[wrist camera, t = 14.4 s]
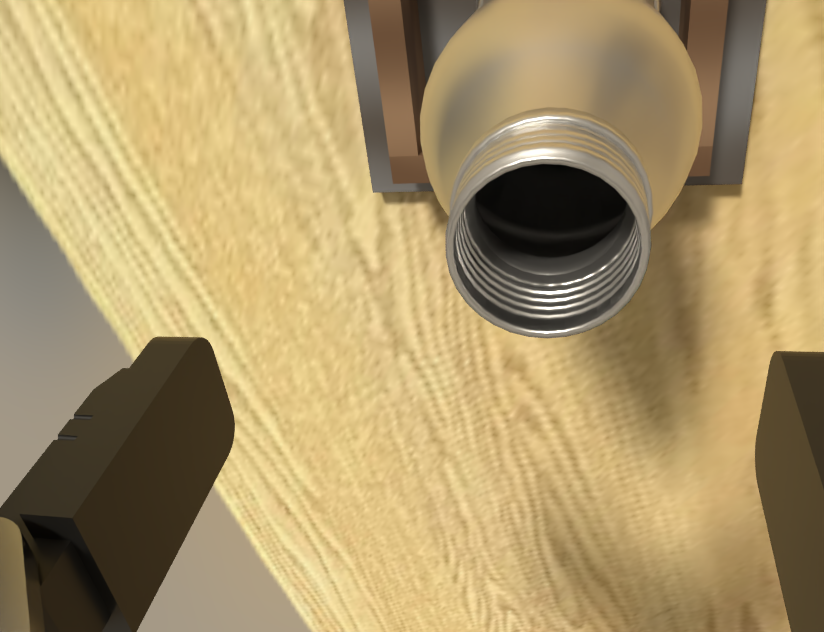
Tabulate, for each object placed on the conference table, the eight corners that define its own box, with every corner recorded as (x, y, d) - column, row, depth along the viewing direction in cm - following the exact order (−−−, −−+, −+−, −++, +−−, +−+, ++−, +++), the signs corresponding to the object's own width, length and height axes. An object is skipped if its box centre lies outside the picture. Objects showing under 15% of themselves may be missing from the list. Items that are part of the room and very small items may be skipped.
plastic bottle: (474, 66, 32) (359, 372, 16) (495, -121, 28) (371, 35, 12) (633, 87, 31) (680, 427, 15) (678, -103, 27) (806, 90, 11)
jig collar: (317, -226, 28) (282, -224, 25) (799, -295, 25) (830, -303, 22) (377, 183, 37) (357, 223, 34) (738, 174, 34) (754, 217, 30)
